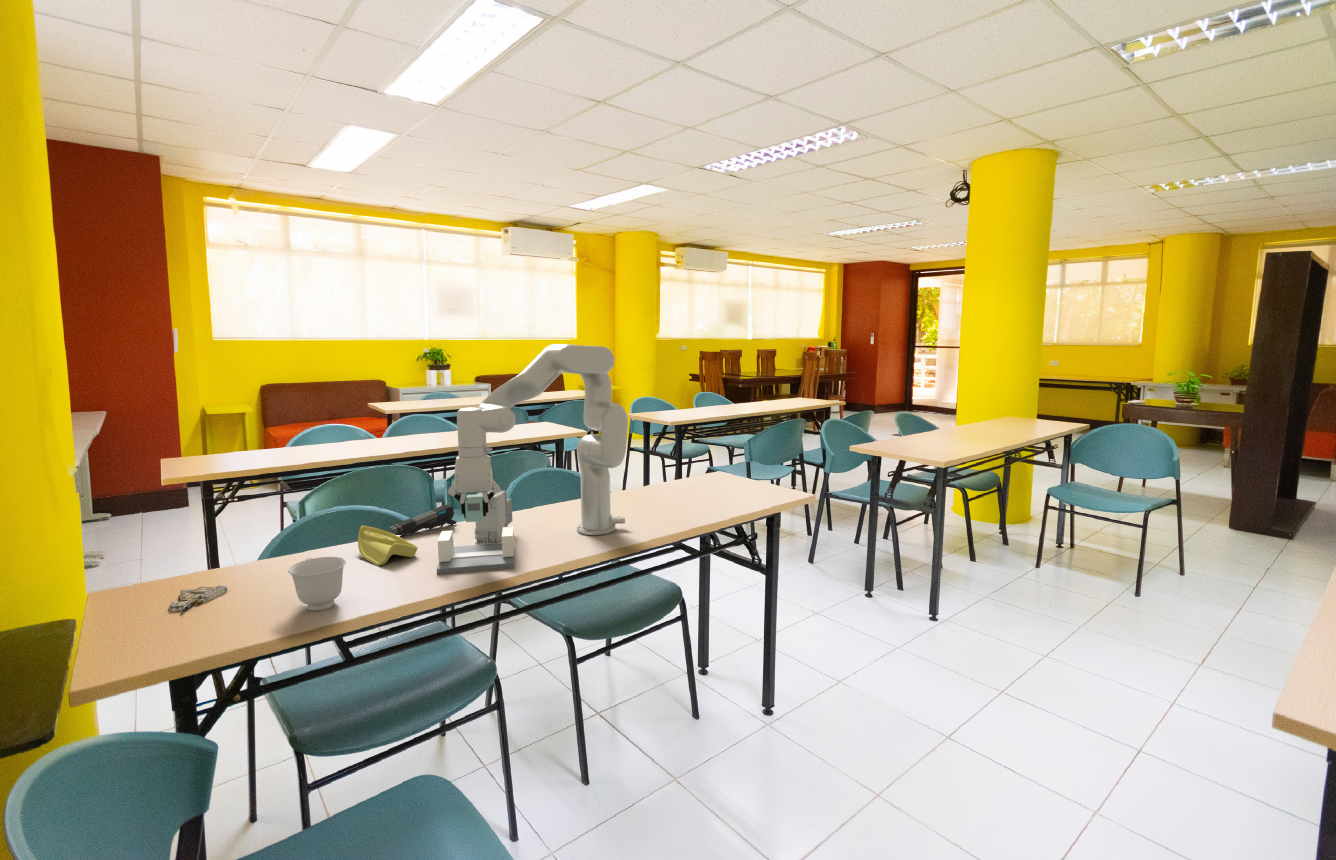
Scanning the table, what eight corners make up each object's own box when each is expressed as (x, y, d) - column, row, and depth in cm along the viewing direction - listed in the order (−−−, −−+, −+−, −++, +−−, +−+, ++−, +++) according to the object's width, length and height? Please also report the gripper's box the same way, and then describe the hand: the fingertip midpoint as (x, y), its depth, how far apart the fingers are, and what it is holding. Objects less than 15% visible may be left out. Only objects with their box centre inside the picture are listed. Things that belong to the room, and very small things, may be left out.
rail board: (514, 547, 192) (513, 522, 191) (513, 568, 175) (512, 540, 173) (445, 552, 188) (443, 526, 186) (437, 574, 170) (435, 546, 169)
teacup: (337, 587, 161) (334, 550, 160) (356, 606, 150) (353, 565, 149) (283, 601, 153) (279, 561, 152) (299, 621, 142) (295, 578, 141)
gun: (460, 524, 214) (449, 498, 211) (406, 556, 203) (393, 530, 199) (454, 521, 218) (443, 496, 214) (400, 552, 206) (388, 527, 202)
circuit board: (169, 620, 145) (168, 610, 144) (169, 598, 156) (168, 589, 156) (232, 606, 152) (231, 597, 152) (228, 586, 164) (227, 577, 163)
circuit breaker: (514, 530, 208) (512, 485, 206) (499, 544, 194) (496, 496, 192) (492, 529, 209) (490, 485, 207) (475, 543, 195) (473, 496, 193)
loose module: (484, 514, 183) (483, 494, 182) (482, 521, 176) (482, 500, 175) (468, 515, 182) (467, 494, 181) (465, 522, 175) (464, 501, 174)
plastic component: (421, 548, 184) (391, 542, 176) (411, 573, 183) (380, 567, 175) (387, 530, 196) (357, 523, 189) (377, 553, 195) (347, 547, 187)
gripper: (504, 448, 182) (506, 510, 185) (442, 450, 178) (445, 513, 181) (503, 453, 175) (505, 517, 177) (438, 455, 171) (442, 521, 174)
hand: (475, 515), depth 179 cm, fingers closed on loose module, 4 cm apart
